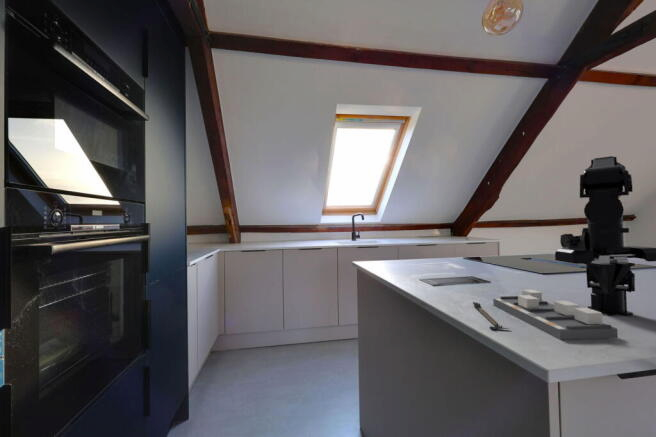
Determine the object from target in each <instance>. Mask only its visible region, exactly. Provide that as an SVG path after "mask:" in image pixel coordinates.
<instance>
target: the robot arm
mask: <svg viewBox="0 0 656 437" xmlns="http://www.w3.org/2000/svg"><path fill="white" fill-rule="evenodd" d="M632 179H633V178H632V174H630V173H629V170H628V169H626V166H625V165H624V164H621V163H620V162H619V161H618V160H617V156H613V155H612V156H611V155H610V156H602V157H596V158H595V157H594V158H593V159H590V165H589V166H588V167H587V168H585V169H584V170H583V173H581V174H580V175H579V199H583V198H584V199H587V198H588V201H587V203H586V204H585V205H584V208H583V212H584V215H585V217H586V221H587V227H583V228H582V230H581V234H580V235H574V234H573V233H562V234H561V235H560V246H561V248H557V250H556V251H555V253H554V260H555V261H557V262H563V263H569V264H575V265H581V264H584V265H585V266H586V268H585V269H586V271H585V272H586V287H587V288H588V289H591V292H590V305H589V306H587V307H586V308H589V309H592V310H595V311H598V312H601V313H602V315H606V316H631V315H632V316H633V315H634V312H632V311H629V310H628V303H627V292H628V293H632V292H636V283H635V282H636V279H635V278H636V276H635V273H634V272H632V271H633V270H632V269H631V268H632V267H634V266H636V264H635V263H634V262H629V259H641V260H644V261H646V262H656V247H649V246H641V245H640V246H639V245H638V246H637V245H631V246H630V245H629V246H628V245H626V246H625V245H624V243H625V242H624V234H625V233H630V228H629V227H624V216H623V215H624V210H625V209H624V206H623V201H621V200H620V198H621V197H623V196H625V197H626V196H629V195H630V193H633V180H632Z"/></svg>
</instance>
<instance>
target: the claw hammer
mask: <svg viewBox="0 0 656 437" xmlns="http://www.w3.org/2000/svg"><path fill="white" fill-rule="evenodd" d="M472 305H473V306H474V308H475V310H476V311H478V313H480V314H481V315H482V316H483V317H484V318H485V319H486V320H487V321H488V322H489V323H491V326H489V329H490V330H491V331H493V332H496V331H498V332H508V333H509V332H510V333H511V332H513V330H510V328H509V327H503V325H500V324H499V323H498V321H497V320H495V319H494V318H493V317H492V316H491V315H490V314H489V313H488V312H487V311H486V310H484V309H483V308H482V306H481V304H480V303H479V302H476V301H472Z"/></svg>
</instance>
